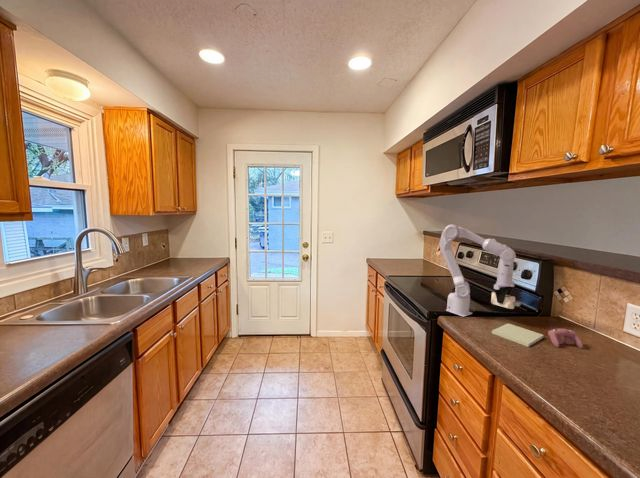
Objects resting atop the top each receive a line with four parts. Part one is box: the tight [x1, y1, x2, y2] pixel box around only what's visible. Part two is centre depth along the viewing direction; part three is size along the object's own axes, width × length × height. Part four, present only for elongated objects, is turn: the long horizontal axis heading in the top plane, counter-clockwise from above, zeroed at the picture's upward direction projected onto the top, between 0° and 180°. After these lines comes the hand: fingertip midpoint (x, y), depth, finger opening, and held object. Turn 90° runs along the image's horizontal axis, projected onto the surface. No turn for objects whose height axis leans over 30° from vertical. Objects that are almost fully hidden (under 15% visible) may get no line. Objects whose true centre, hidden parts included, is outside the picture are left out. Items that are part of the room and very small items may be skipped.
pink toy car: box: [547, 327, 584, 349], centre depth 107 cm, size 10×5×7 cm, turn 85°
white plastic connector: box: [490, 291, 521, 310], centre depth 128 cm, size 12×4×5 cm, turn 33°
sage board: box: [491, 322, 545, 348], centre depth 114 cm, size 13×14×1 cm
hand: (502, 302), depth 129 cm, fingers closed on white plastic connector, 4 cm apart
